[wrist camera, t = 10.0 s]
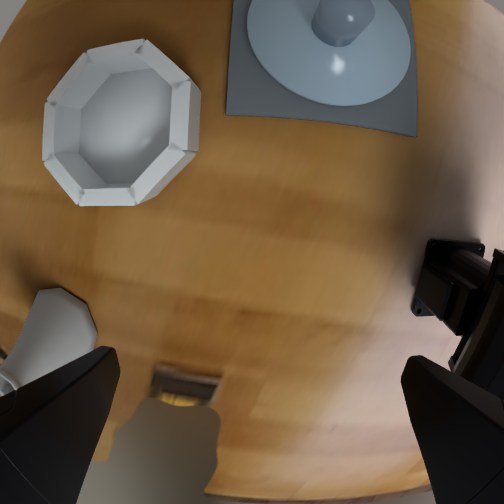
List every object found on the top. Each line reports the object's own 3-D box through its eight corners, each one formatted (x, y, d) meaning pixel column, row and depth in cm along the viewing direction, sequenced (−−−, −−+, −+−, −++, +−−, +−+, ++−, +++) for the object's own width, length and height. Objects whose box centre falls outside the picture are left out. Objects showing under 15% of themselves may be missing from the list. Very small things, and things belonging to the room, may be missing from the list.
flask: (33, 277, 22) (-39, 330, 12) (96, 296, 22) (28, 368, 12) (43, 341, 24) (-10, 402, 14) (102, 363, 24) (55, 439, 15)
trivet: (403, -9, 14) (406, -12, 13) (412, 137, 18) (416, 136, 17) (237, -36, 14) (237, -40, 13) (226, 115, 18) (226, 114, 17)
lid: (398, -6, 14) (424, -31, 9) (404, 120, 17) (439, 114, 13) (252, -32, 14) (251, -68, 9) (242, 98, 17) (237, 80, 13)
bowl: (206, 55, 17) (195, 33, 13) (199, 196, 19) (186, 206, 16) (80, 72, 16) (50, 60, 13) (75, 197, 19) (44, 207, 16)
